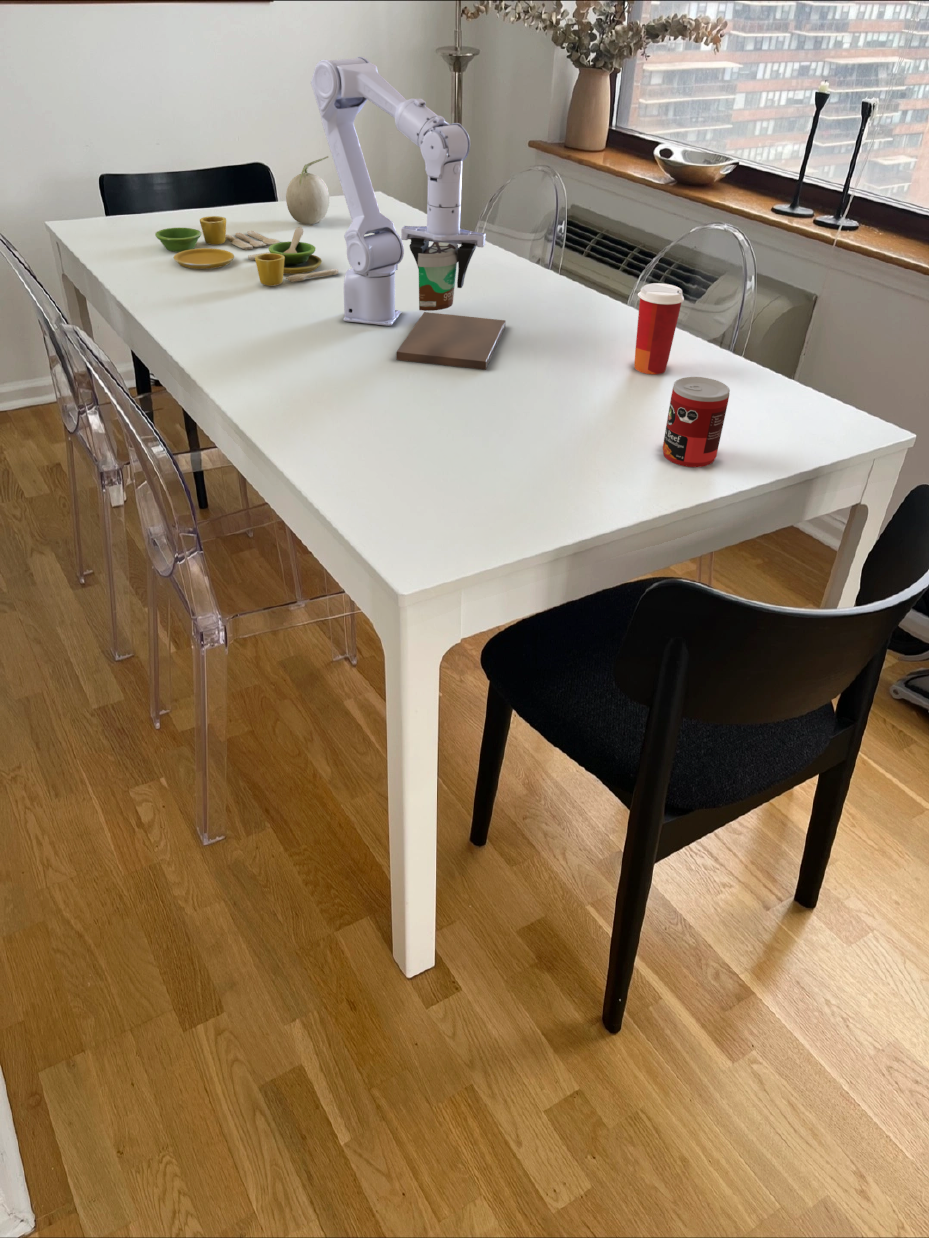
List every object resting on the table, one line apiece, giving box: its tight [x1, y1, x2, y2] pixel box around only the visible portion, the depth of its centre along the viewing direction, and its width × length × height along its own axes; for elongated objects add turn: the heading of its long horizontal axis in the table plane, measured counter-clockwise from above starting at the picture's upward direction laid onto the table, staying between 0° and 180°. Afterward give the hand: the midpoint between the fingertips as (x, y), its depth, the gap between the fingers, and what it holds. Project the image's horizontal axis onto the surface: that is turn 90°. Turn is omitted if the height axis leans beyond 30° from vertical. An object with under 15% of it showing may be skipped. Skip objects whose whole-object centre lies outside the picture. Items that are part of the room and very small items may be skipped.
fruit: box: [285, 155, 330, 225], centre depth 239 cm, size 10×12×15 cm
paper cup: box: [633, 282, 685, 375], centre depth 170 cm, size 8×8×14 cm
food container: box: [417, 242, 460, 312], centre depth 174 cm, size 12×6×10 cm, turn 168°
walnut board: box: [395, 311, 507, 371], centre depth 180 cm, size 16×22×2 cm
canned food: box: [662, 376, 731, 468], centre depth 143 cm, size 8×8×11 cm
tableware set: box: [154, 215, 339, 287], centre depth 214 cm, size 41×28×6 cm
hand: (442, 284), depth 175 cm, fingers closed on food container, 6 cm apart
